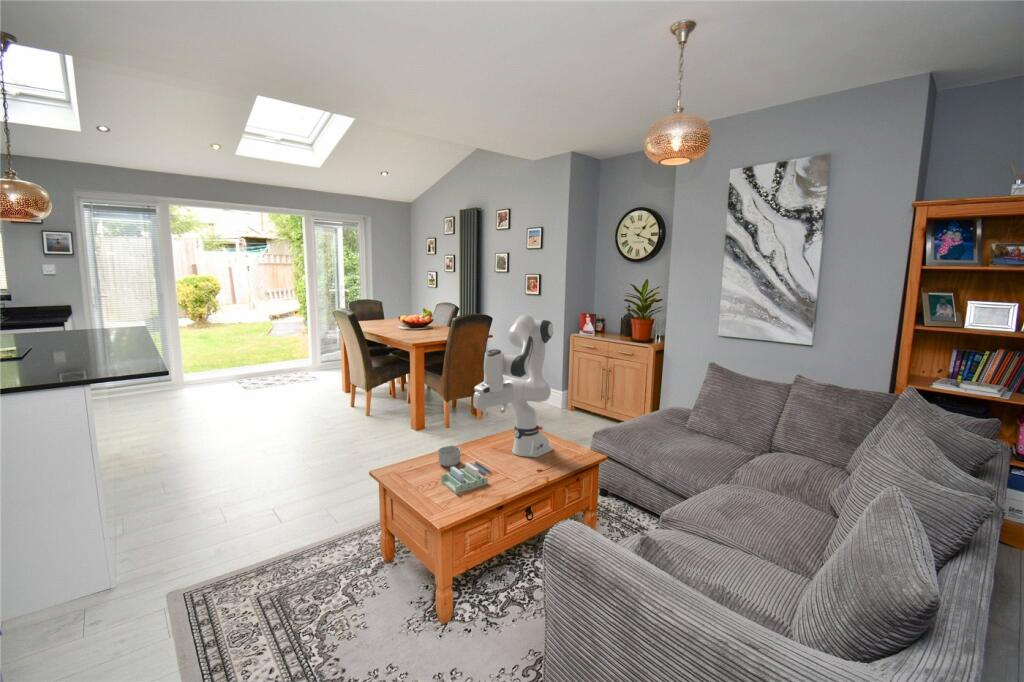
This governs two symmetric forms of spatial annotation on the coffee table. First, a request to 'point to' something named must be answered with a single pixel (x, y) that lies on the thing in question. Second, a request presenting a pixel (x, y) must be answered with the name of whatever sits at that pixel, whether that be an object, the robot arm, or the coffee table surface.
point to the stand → (481, 468)
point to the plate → (472, 470)
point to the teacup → (449, 455)
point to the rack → (461, 480)
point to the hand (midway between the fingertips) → (494, 414)
